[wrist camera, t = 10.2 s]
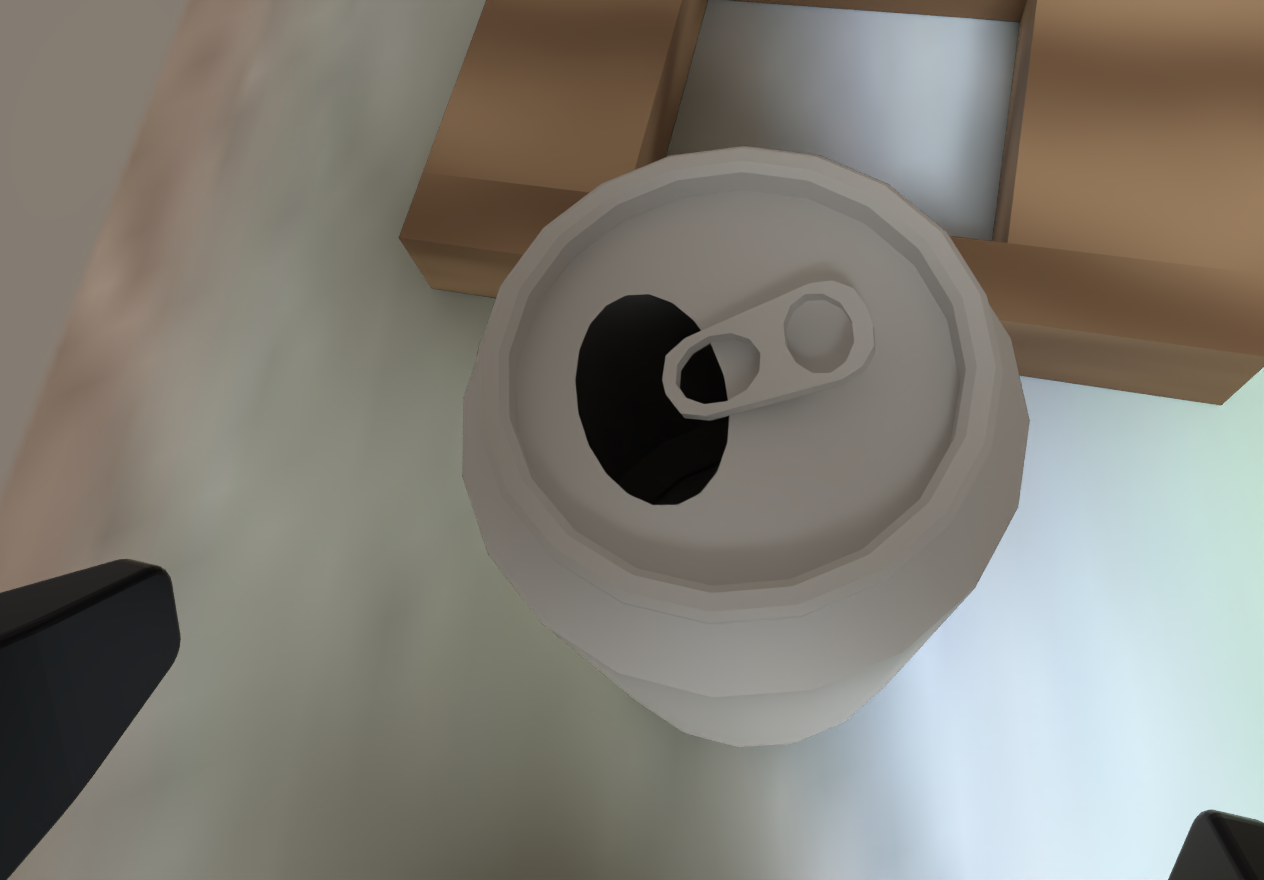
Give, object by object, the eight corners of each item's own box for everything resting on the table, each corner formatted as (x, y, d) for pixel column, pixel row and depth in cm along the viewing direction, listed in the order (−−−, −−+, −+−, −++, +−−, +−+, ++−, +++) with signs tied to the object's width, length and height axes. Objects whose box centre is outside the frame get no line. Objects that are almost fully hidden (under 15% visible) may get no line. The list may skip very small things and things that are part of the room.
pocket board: (1221, 405, 22) (1274, 357, 20) (431, 288, 26) (398, 237, 24) (1236, -59, 27) (1280, -141, 24) (565, -96, 31) (548, -169, 29)
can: (565, 473, 24) (384, 177, 13) (858, 400, 23) (937, 30, 12) (626, 785, 21) (463, 755, 10) (962, 706, 20) (1187, 582, 9)
